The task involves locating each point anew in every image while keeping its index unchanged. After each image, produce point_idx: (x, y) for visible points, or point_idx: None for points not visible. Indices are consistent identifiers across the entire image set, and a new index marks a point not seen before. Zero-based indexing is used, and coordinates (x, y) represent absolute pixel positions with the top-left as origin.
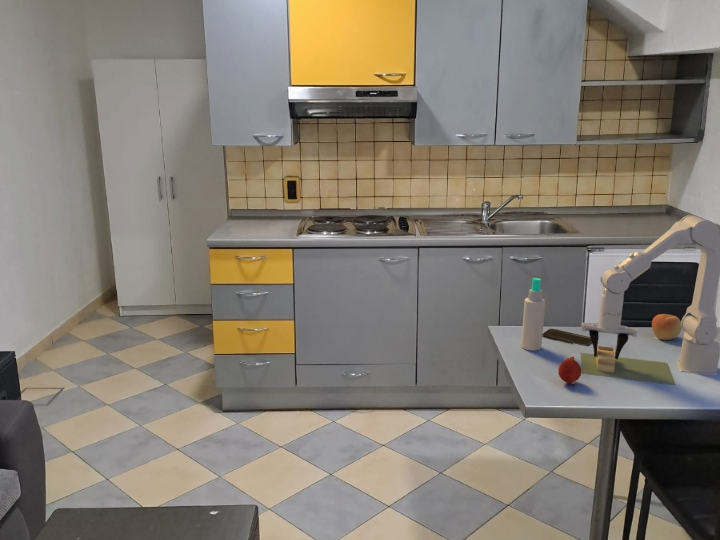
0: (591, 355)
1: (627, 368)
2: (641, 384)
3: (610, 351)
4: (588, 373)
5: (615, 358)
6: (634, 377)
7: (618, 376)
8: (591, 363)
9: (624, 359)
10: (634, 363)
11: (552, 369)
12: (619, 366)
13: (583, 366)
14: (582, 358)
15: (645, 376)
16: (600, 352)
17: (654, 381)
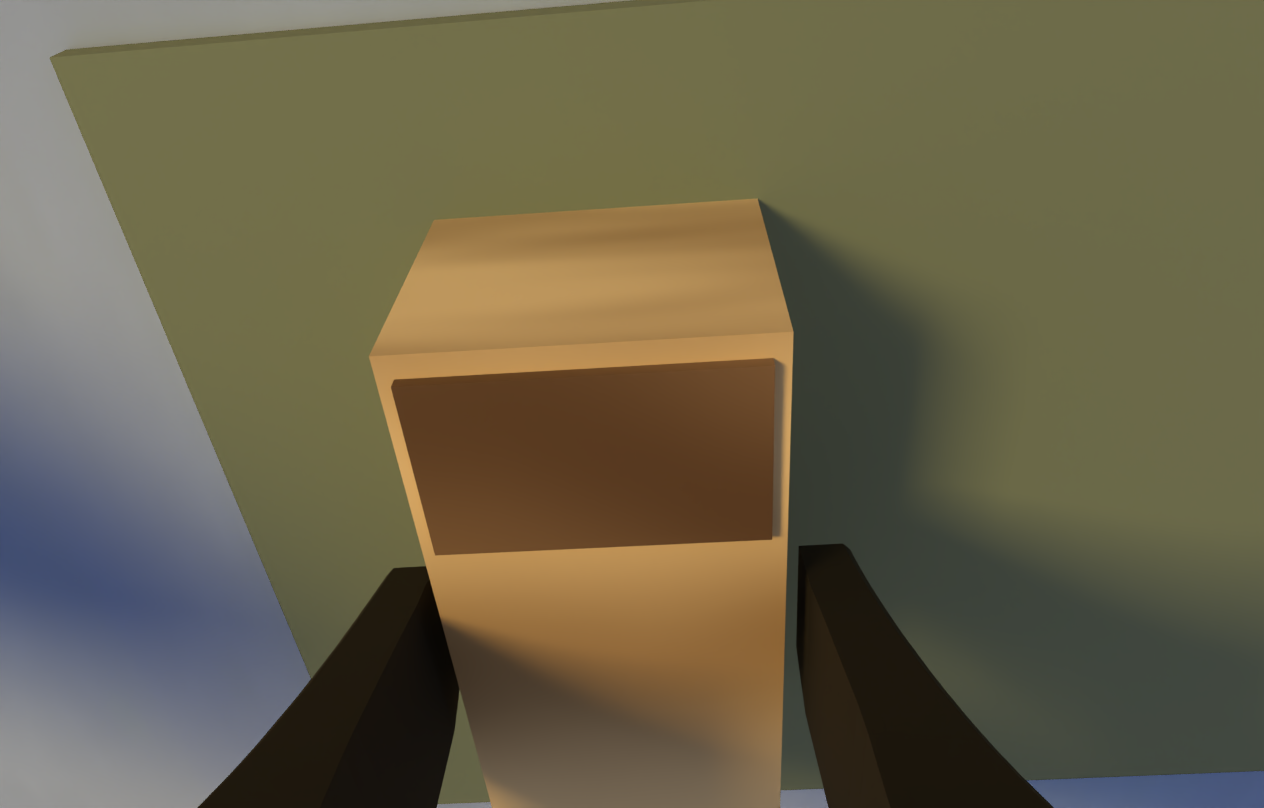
0: (318, 133)
1: (988, 507)
2: (1054, 799)
3: (710, 562)
4: (441, 792)
5: (799, 659)
6: (1014, 728)
7: (806, 760)
8: (410, 512)
9: (1039, 91)
10: (1200, 243)
11: (11, 769)
12: (865, 472)
13: (327, 643)
14: (210, 369)
15: (1186, 666)
16: (505, 667)
17: (1251, 750)
